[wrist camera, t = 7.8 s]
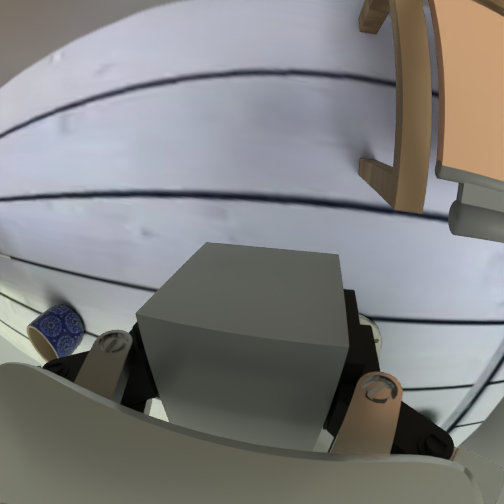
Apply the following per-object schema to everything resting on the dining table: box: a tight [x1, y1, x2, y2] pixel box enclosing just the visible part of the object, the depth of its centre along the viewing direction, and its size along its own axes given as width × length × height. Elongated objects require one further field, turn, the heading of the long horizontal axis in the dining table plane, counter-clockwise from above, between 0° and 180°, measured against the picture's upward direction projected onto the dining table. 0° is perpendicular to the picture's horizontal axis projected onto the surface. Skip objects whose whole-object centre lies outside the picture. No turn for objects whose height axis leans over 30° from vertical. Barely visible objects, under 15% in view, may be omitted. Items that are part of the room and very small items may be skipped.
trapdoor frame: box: [359, 0, 504, 214], centre depth 17 cm, size 20×20×16 cm
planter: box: [27, 305, 84, 362], centre depth 48 cm, size 11×11×11 cm
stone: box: [136, 242, 349, 451], centre depth 9 cm, size 5×5×5 cm
